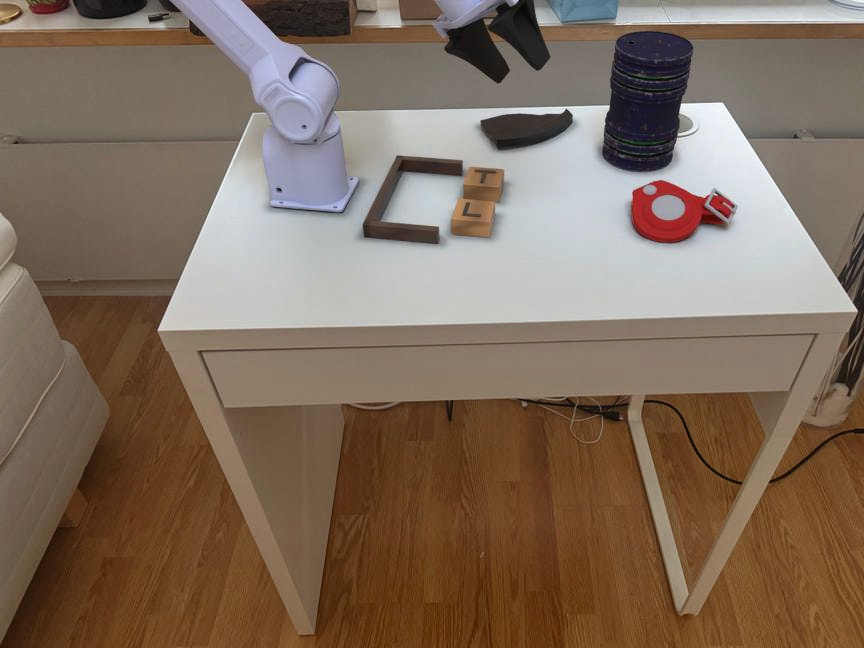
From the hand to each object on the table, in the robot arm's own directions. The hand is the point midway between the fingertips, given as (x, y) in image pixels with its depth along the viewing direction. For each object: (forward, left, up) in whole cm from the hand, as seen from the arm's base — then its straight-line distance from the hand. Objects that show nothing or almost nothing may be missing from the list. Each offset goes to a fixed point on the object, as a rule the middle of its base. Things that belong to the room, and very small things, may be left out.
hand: (523, 70), depth 82 cm
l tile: (-5, -6, -17) cm, 18 cm away
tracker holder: (+20, -2, -17) cm, 26 cm away
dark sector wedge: (-1, +19, -17) cm, 25 cm away
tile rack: (-13, -2, -17) cm, 21 cm away
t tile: (-5, +2, -17) cm, 17 cm away
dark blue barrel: (+15, +15, -17) cm, 27 cm away
